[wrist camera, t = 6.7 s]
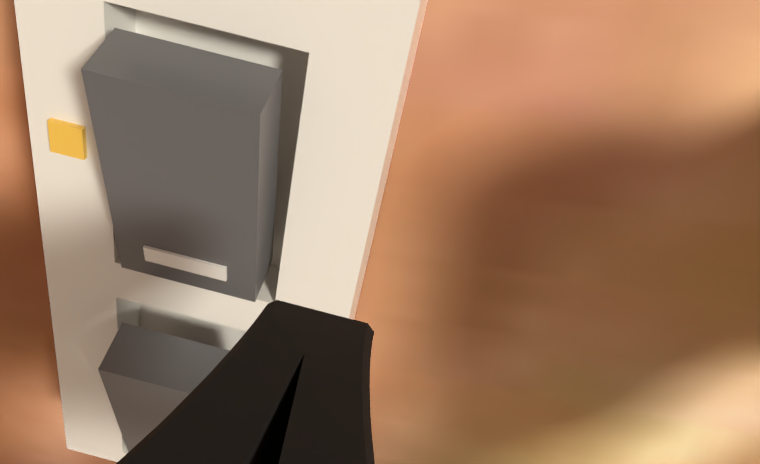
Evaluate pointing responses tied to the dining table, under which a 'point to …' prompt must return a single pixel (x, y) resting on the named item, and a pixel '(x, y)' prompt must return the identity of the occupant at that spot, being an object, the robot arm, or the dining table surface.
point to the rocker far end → (152, 376)
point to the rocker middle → (187, 159)
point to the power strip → (294, 170)
